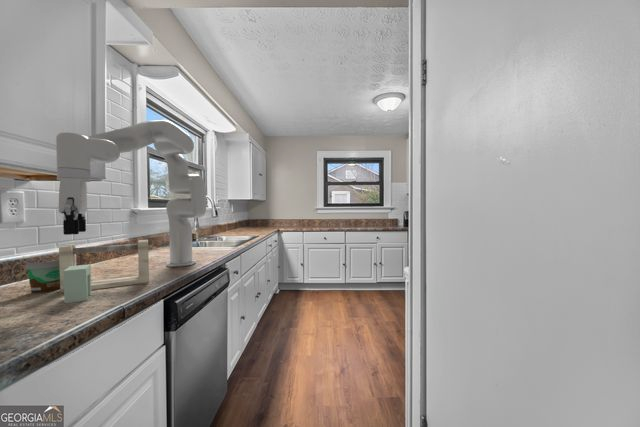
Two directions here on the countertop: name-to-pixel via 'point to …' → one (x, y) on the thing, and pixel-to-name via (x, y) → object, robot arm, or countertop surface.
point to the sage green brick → (77, 283)
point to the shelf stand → (69, 251)
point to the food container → (44, 276)
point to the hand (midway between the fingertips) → (75, 233)
